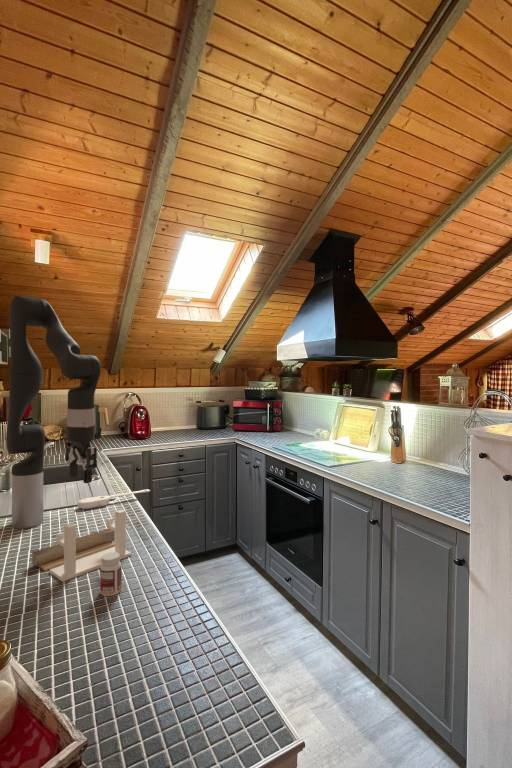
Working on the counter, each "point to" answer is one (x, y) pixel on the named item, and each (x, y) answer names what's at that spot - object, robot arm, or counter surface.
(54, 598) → the counter surface
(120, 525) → the rack
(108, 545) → the tray
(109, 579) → the pill bottle
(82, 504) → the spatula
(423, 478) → the counter surface
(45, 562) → the rail
